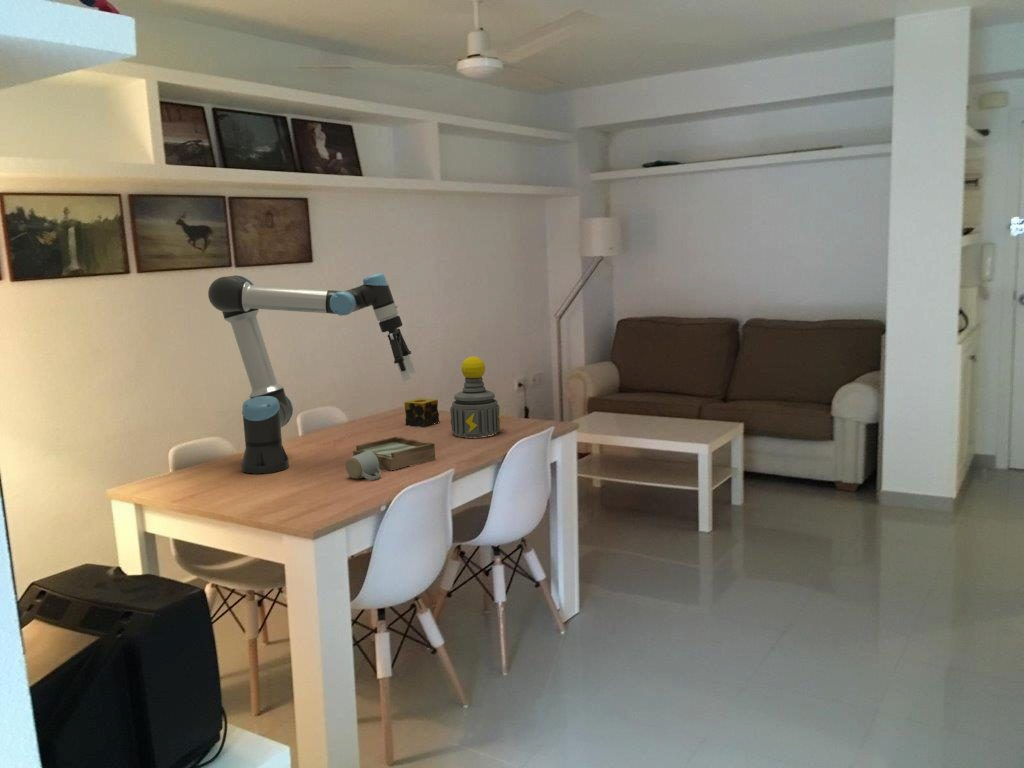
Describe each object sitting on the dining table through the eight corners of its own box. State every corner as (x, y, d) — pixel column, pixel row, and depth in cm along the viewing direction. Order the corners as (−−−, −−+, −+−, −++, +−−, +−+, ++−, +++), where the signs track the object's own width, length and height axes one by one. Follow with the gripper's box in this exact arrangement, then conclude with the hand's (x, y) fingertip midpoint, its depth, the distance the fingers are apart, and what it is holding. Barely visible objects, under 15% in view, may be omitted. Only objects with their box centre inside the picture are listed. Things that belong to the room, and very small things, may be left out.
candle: (440, 423, 348) (438, 399, 347) (424, 427, 340) (423, 403, 338) (420, 421, 353) (419, 397, 352) (405, 425, 345) (403, 401, 343)
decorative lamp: (503, 428, 332) (500, 352, 328) (497, 438, 314) (494, 358, 309) (456, 429, 335) (452, 354, 330) (447, 439, 316) (443, 360, 312)
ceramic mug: (344, 478, 264) (343, 454, 263) (363, 472, 271) (362, 449, 270) (368, 483, 258) (367, 458, 257) (387, 477, 265) (386, 453, 264)
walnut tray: (353, 462, 285) (352, 446, 284) (397, 451, 298) (396, 436, 298) (391, 471, 271) (390, 454, 270) (435, 459, 285) (434, 443, 284)
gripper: (393, 318, 275) (416, 379, 278) (403, 311, 299) (423, 367, 303) (372, 325, 275) (394, 386, 279) (383, 318, 300) (404, 373, 303)
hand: (410, 376), depth 291 cm, fingers open, 13 cm apart
